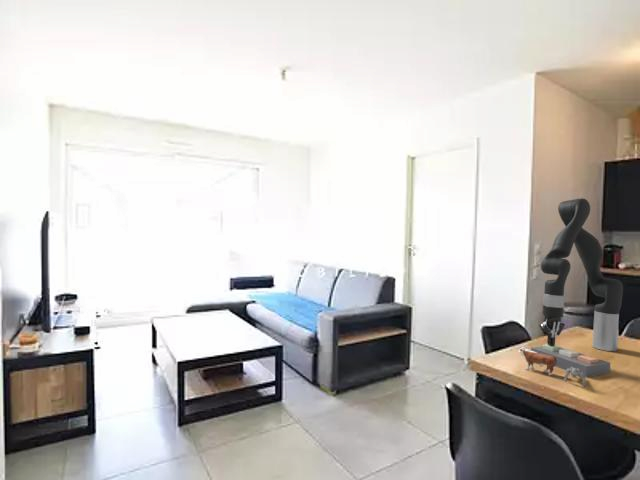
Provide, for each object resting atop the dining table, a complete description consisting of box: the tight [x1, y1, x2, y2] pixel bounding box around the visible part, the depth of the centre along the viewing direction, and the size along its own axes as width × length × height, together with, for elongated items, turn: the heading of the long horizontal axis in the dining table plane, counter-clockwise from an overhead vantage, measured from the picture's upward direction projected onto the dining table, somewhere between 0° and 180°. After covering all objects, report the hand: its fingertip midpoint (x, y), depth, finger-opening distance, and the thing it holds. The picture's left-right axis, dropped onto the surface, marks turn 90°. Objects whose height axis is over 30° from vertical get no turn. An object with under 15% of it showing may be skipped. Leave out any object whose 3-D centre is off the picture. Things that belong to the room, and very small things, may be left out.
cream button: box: [559, 348, 580, 358], centre depth 153 cm, size 5×5×3 cm
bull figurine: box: [518, 346, 557, 376], centre depth 144 cm, size 4×13×8 cm, turn 45°
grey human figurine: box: [563, 367, 586, 387], centre depth 134 cm, size 6×5×12 cm
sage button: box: [542, 343, 561, 352], centre depth 160 cm, size 5×5×3 cm
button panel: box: [530, 346, 611, 378], centre depth 153 cm, size 14×23×4 cm, turn 22°
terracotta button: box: [577, 354, 599, 364], centre depth 146 cm, size 5×5×3 cm
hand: (551, 345), depth 160 cm, fingers closed
